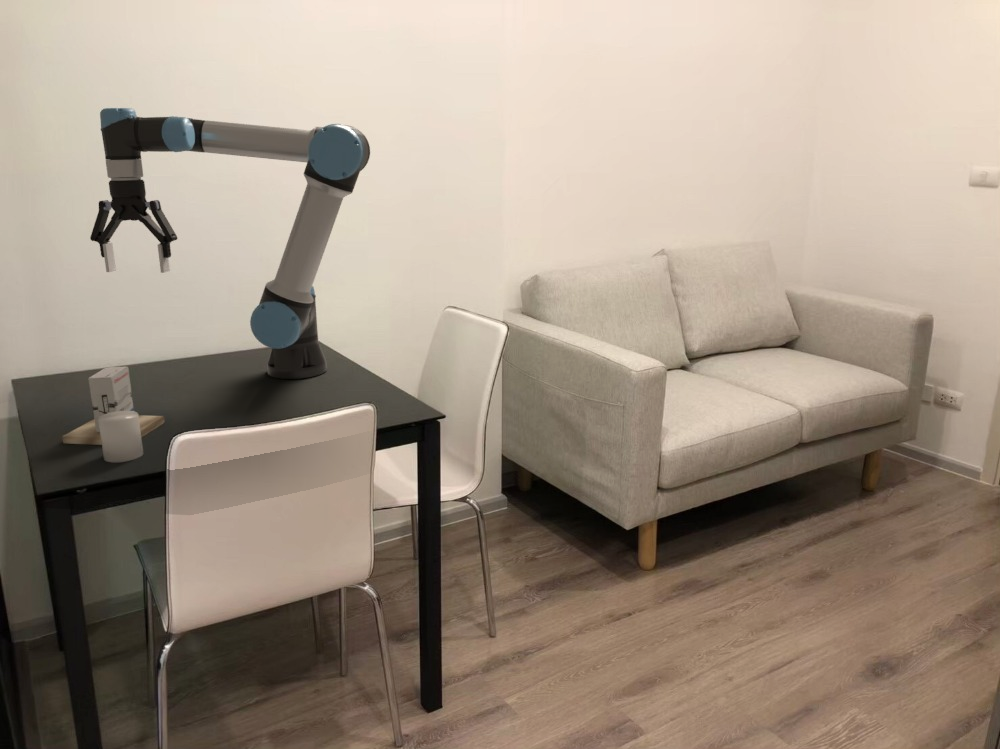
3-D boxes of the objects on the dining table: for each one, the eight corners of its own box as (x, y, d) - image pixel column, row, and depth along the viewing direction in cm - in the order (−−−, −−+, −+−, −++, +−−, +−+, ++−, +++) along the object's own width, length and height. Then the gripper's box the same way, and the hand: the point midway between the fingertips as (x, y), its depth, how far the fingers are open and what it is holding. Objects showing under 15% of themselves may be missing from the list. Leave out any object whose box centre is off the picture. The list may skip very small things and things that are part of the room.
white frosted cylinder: (150, 449, 164) (145, 411, 162) (130, 463, 157) (125, 423, 155) (117, 448, 165) (111, 410, 162) (96, 461, 158) (90, 421, 156)
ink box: (112, 419, 177) (105, 365, 174) (136, 418, 177) (129, 365, 174) (94, 433, 169) (86, 377, 166) (119, 432, 169) (111, 376, 166)
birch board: (164, 422, 179) (163, 416, 179) (128, 445, 166) (127, 438, 165) (104, 420, 181) (103, 414, 181) (63, 443, 168) (62, 436, 167)
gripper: (185, 177, 192) (195, 269, 198) (85, 178, 196) (98, 268, 201) (169, 179, 185) (180, 274, 191) (65, 180, 188) (79, 273, 194)
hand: (138, 271), depth 196 cm, fingers open, 13 cm apart
